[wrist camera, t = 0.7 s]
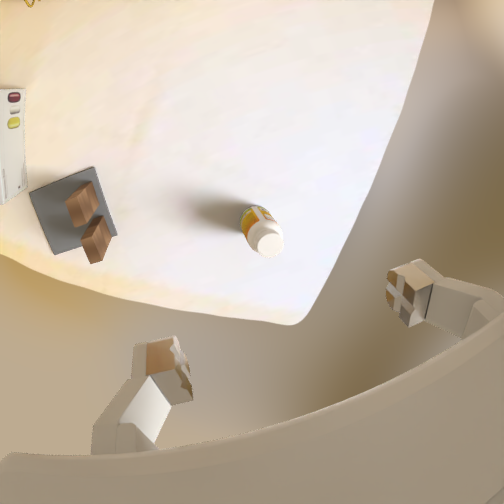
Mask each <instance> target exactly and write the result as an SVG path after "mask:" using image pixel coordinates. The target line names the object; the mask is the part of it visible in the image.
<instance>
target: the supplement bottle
mask: <svg viewBox="0 0 504 504" xmlns="http://www.w3.org/2000/svg"><path fill="white" fill-rule="evenodd" d="M240 227H241V229H242V231H243V233H244V235H245V237H246V239H247V241H248V244H249V245H250V247H251V248H252V249H253V250H254V251H256V252H258V253H259V254H260V255H261V256H263V257H266V258H271V257H275V256H276V255H278V254H279V253H280V252H281V251H282V249H283V245H284V242H283V239H282V230H281V228H280V226H279V225H278V224H277V222H276V221H275V220H274V218H273V217H272V216H271V214H270V213H269V212H268V211H267V210H266V209H265V208H263V207H261V206H252V207H250V208H248V209H246V210H245V211H244V212H243V213H242V215H241V217H240Z"/></svg>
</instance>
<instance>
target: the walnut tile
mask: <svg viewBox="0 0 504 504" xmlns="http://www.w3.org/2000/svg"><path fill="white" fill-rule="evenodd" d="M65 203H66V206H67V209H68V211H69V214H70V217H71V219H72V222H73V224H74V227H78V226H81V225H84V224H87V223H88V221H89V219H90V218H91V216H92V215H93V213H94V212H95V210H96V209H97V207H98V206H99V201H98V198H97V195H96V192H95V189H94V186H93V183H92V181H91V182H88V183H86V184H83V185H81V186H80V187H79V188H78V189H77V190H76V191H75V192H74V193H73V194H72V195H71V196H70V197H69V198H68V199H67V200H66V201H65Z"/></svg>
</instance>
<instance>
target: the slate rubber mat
mask: <svg viewBox="0 0 504 504" xmlns="http://www.w3.org/2000/svg"><path fill="white" fill-rule="evenodd" d="M91 181H92V183H93V186H94V189H95V192H96V195H97V198H98V201H99V206H98V207H97V209H96V210H95V212H94V213H93V215H92V216H91V218H90V219H89V221H88V223H87V224H84V225H81V226H78V227H74V224H73V222H72V219H71V217H70V214H69V211H68V209H67V206H66V203H65V201H66V200H67V199H68V198H69V197H70V196H71V195H72V194H73V193H74V192H75V191H76V190H77V189H78V188H79V187H80V186H81V185H83V184H86V183H88V182H91ZM29 194H30V197H31V200H32V203H33V205H34V208H35V210H36V213H37V216H38V218H39V221H40V223H41V225H42V228H43V230H44V233H45V235H46V237H47V239H48V242H49V244H50V246H51V248H52V251H53V253H54V255H57V254H60V253H63V252H66V251H69V250H72V249H75V248H78V247H81V246H82V244H81V241H80V239H81V238H82V236H83V234H84V233H85V231H86V229H87V228H88V226H89V225H90V223H91V221H92V220H93V219H94V218H97V217H100V216H103V215H104V218H105V220H106V223H107V226H108V228H109V231H110V234H111V236H112V237H113V236H117V232H116V229H115V226H114V224H113V221H112V218H111V215H110V213H109V210H108V207H107V204H106V201H105V198H104V195H103V192H102V189H101V186H100V183H99V180H98V177H97V174H96V170H95V167H93V168H90V169H87V170H85V171H82V172H79V173H77V174H74V175H71V176H69V177H66V178H64V179H61V180H59V181H56V182H54V183H52V184H49V185H47V186H45V187H42V188H40V189H38V190H35V191H33V192H31V193H29Z"/></svg>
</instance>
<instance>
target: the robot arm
mask: <svg viewBox="0 0 504 504" xmlns="http://www.w3.org/2000/svg"><path fill="white" fill-rule="evenodd" d="M387 280H388V281H389V282H390V283H389V284H388V286H387V288H386V299H387V302H388V304H389V306H390V307H391V308H392V310H394V311H396V312H399V318H400V319H401V320H402V321H403V322H404V323H405V324H406V325H407V327H411V326H413V325H415V324H418V323H420V322H422V321H424V320H425V322H428V323H430V324H432V325H434V326H436V327H438V328H441V329H443V330H445V331H447V332H449V333H451V334H453V335H455V336H458V337H460V338H461V341H460V342H459V343H457V344H455V345H454V346H452V347H450V348H449V349H447V350H445V351H444V352H442V353H440V354H438V355H437V356H435V357H433V358H432V359H430V360H428V361H426V362H424V363H422V364H421V365H419V366H417V367H415V368H413V369H411V370H409V371H407V372H406V373H403V374H401V375H399V376H397V377H396V378H393V379H391V380H389V381H387V382H385V383H383V384H381V385H379V386H377V387H374V388H372V389H370V390H368V391H365V392H363V393H361V394H359V395H356V396H354V397H351V398H349V399H347V400H344V401H341V402H339V403H337V404H334V405H331V406H329V407H326V408H323V409H321V410H318V411H315V412H312V413H309V414H307V415H303V416H301V417H298V418H295V419H291V420H288V421H285V422H282V423H279V424H275V425H272V426H269V427H265V428H261V429H258V430H254V431H251V432H246V433H243V434H239V435H235V436H231V437H226V438H222V439H217V440H213V441H207V442H202V443H197V444H191V445H186V446H180V447H173V448H166V449H159V448H158V447H157V446H156V445H155V444H154V442H155V440H156V438H157V436H158V434H159V431H160V429H161V427H162V425H163V423H164V421H165V419H166V417H167V415H168V413H169V411H170V409H171V405H176V404H180V403H184V402H189V401H193V393H192V385H191V383H190V382H189V380H188V379H189V378H190V376H191V375H190V368H189V364H188V361H187V358H186V356H185V353H184V352H183V351H182V350H180V345H179V341H178V339H177V338H176V336H170V337H166V338H161V339H156V340H152V341H148V342H144V343H138V344H135V346H134V349H133V361H132V373H131V379H128V380H127V381H126V382H125V383H124V385H123V386H122V387H121V389H120V390H119V391H118V393H117V394H116V395H115V397H114V398H113V399H112V401H111V402H110V404H109V405H108V406H107V408H106V409H105V410H104V412H103V413H102V414H101V416H100V417H99V418H98V420H97V421H96V422H95V424H94V425H93V433H92V444H91V455H41V454H28V453H17V452H14V453H9V454H8V455H7V456H6V457H5V458H3V460H2V461H1V462H0V504H504V298H503V297H502V296H501V295H500V294H498V293H497V292H496V291H495V290H493V289H489V288H485V287H482V286H478V285H475V284H471V283H467V282H463V281H460V280H456V279H452V278H449V277H447V278H444V277H443V276H442V275H441V274H439V273H438V272H437V271H436V270H434V269H433V268H432V267H431V266H430V265H428V264H427V263H426V262H425V261H423V260H422V259H417V260H414V261H412V262H409V263H408V264H404V265H402V266H399V267H397V268H394V269H392V270H389V272H388V274H387Z"/></svg>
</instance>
